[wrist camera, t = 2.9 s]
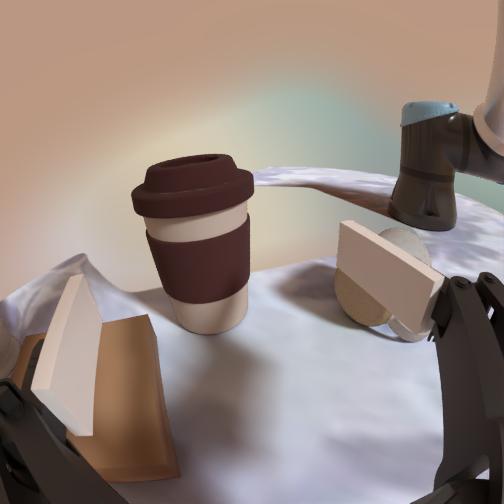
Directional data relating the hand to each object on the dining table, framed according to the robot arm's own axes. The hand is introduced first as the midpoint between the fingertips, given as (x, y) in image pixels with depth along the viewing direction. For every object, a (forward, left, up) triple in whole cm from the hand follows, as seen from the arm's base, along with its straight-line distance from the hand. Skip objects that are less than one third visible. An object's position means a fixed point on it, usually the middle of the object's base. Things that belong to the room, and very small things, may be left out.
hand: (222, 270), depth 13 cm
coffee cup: (0, -11, -11) cm, 16 cm away
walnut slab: (+13, -2, -11) cm, 17 cm away
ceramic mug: (-16, -3, -11) cm, 20 cm away
